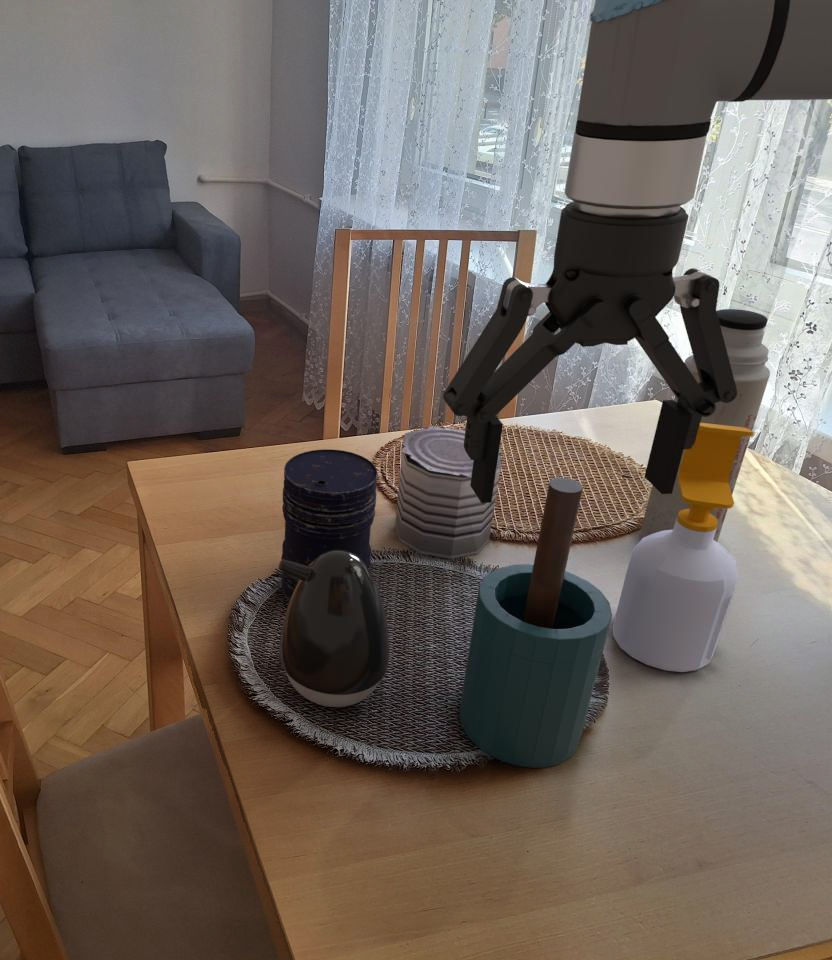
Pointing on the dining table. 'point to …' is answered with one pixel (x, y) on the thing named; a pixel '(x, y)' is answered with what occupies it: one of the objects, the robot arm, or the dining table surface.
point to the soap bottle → (684, 566)
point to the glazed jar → (532, 669)
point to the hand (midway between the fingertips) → (569, 490)
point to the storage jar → (327, 507)
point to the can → (441, 496)
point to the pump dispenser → (334, 630)
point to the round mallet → (552, 551)
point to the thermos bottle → (723, 410)
